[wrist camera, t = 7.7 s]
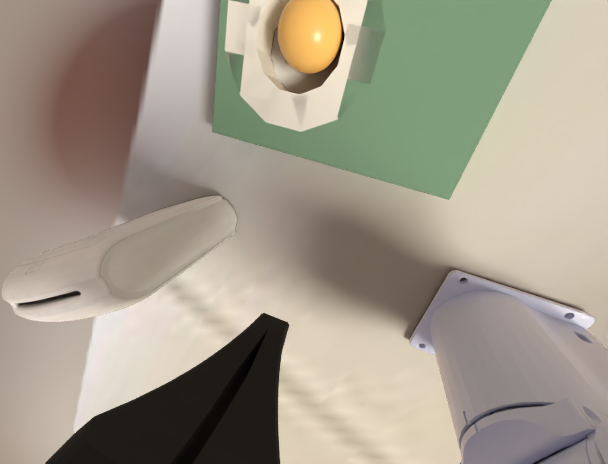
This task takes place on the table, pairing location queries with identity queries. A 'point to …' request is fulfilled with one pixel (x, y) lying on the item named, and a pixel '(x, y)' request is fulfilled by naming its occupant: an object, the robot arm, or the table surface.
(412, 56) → the mat
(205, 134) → the table surface
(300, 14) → the ball
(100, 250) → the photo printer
